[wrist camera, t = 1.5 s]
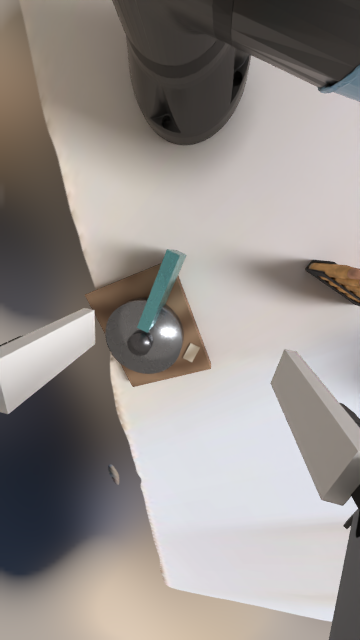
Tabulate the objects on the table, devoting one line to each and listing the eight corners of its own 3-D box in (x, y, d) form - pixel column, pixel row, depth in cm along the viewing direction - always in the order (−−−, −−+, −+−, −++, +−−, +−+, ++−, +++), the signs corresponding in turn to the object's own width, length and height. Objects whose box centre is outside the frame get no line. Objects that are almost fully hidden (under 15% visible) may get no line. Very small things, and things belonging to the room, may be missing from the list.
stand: (90, 292, 38) (83, 294, 36) (172, 259, 34) (169, 259, 31) (136, 381, 44) (132, 387, 42) (210, 363, 39) (210, 369, 37)
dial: (167, 375, 39) (158, 400, 32) (105, 346, 39) (84, 365, 32) (220, 271, 30) (223, 276, 24) (142, 233, 30) (123, 228, 24)
